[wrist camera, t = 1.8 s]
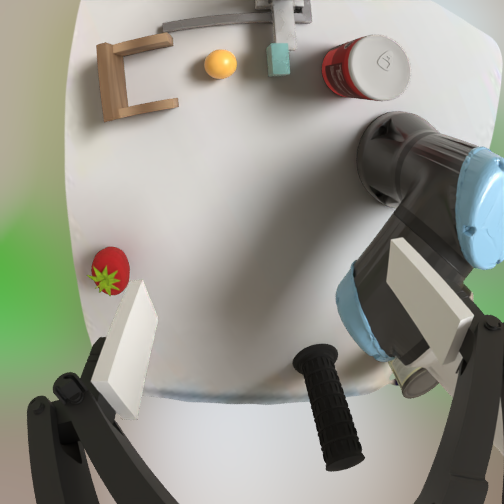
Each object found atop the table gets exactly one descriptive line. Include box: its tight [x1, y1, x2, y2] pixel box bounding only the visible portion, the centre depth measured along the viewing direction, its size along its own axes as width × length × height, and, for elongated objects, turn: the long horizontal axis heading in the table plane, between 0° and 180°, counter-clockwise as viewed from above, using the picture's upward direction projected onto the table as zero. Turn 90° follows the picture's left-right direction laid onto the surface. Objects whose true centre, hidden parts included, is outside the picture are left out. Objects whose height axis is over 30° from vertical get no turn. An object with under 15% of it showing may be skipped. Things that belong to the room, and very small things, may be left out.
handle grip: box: [293, 344, 365, 471], centre depth 51 cm, size 10×26×10 cm
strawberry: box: [87, 247, 130, 296], centre depth 42 cm, size 6×8×10 cm
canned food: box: [322, 35, 411, 101], centre depth 30 cm, size 8×8×11 cm
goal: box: [96, 32, 179, 122], centre depth 31 cm, size 8×10×6 cm
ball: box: [205, 49, 237, 79], centre depth 32 cm, size 4×4×4 cm
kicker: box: [255, 0, 304, 76], centre depth 26 cm, size 6×14×14 cm, turn 4°
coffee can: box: [388, 357, 439, 398], centre depth 56 cm, size 10×10×14 cm
